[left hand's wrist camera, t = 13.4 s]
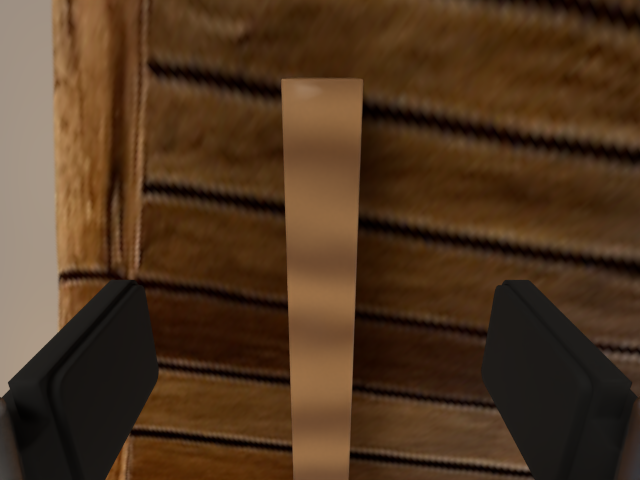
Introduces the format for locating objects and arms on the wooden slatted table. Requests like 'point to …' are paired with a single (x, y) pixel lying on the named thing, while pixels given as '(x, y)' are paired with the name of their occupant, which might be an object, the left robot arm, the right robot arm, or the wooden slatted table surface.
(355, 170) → the bar
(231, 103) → the wooden slatted table surface
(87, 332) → the left robot arm
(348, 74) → the wooden slatted table surface
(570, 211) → the wooden slatted table surface
